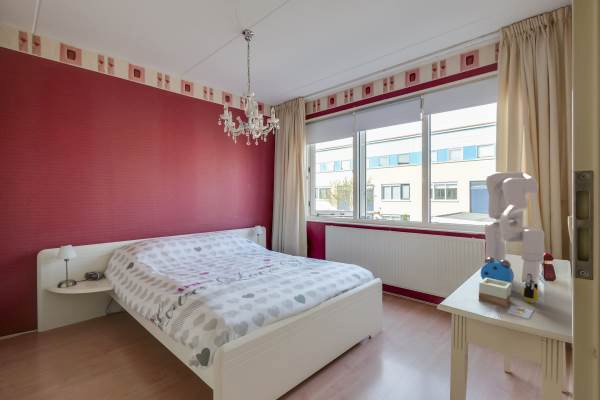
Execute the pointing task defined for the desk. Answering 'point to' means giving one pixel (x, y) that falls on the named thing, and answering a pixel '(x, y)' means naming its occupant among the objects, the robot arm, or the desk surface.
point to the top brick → (495, 287)
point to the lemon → (531, 298)
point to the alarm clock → (497, 270)
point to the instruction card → (520, 312)
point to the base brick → (494, 300)
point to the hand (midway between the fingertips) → (530, 294)
